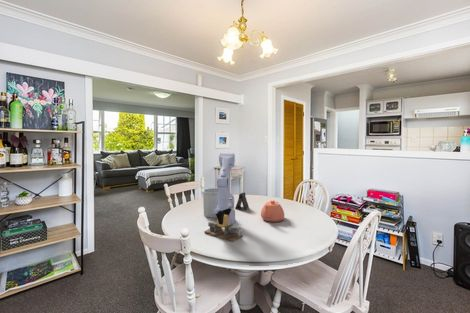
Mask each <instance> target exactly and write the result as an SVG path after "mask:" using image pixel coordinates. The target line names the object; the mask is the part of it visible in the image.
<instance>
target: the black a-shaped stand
mask: <svg viewBox="0 0 470 313" xmlns="http://www.w3.org/2000/svg"><path fill="white" fill-rule="evenodd" d="M246 196H247V195H246V192H241V193H239V194H238V200H237V203H236V205H235V207H234V209H235V210H238V211H239V210H240V211H247V210H248V209H250V206H249V204H248V200H247V197H246Z"/></svg>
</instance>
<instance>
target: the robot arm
mask: <svg viewBox="0 0 470 313" xmlns="http://www.w3.org/2000/svg"><path fill="white" fill-rule="evenodd" d="M235 156H236V155H235V153H219V154H218V163H219V166H220V167H221V168H220V169H219V174H218V177H217V179H216V188H217V191H218V205H217V208H215V209H214V213H215V214H216V216H217V217H216V220H217V219H218V222H219V224H221V225H222V224H223V217H224V214H227V215H228V225H230V224H233V223H235V222H236V221H237V220H236V209H235V196H234V194H232V193H231V174H232V173H231V171H232V168H234V167H235V162H236V159H235V158H236V157H235Z"/></svg>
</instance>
